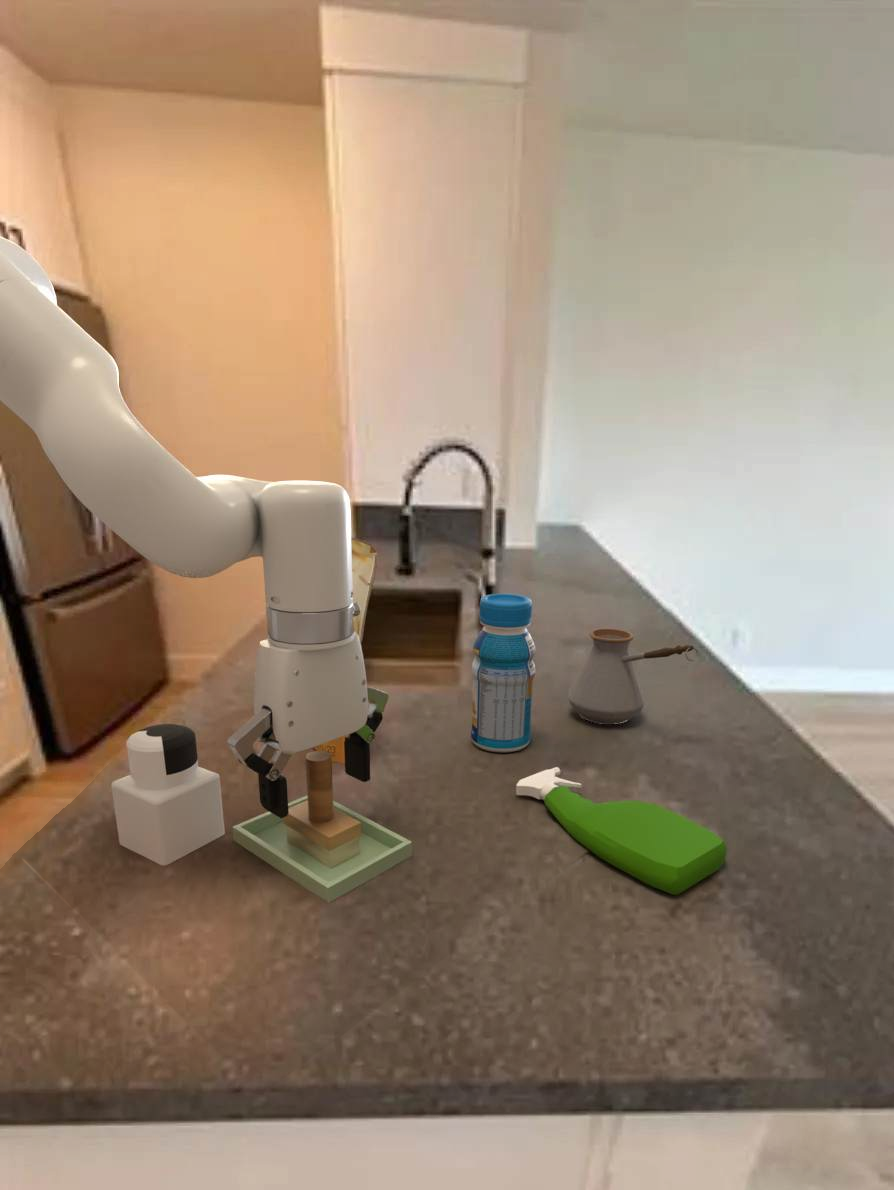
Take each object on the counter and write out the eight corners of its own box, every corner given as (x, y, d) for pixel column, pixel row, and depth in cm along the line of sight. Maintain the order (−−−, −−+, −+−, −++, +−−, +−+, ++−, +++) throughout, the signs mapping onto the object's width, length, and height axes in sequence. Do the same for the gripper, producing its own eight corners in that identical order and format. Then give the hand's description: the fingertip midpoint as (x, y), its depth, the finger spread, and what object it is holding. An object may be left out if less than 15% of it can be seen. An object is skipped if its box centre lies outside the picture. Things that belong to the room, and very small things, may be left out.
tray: (233, 843, 73) (232, 826, 72) (316, 806, 81) (315, 791, 80) (328, 906, 64) (327, 888, 63) (412, 858, 72) (412, 841, 71)
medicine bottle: (181, 816, 78) (169, 712, 74) (226, 836, 74) (216, 728, 70) (118, 846, 72) (102, 734, 68) (164, 869, 68) (150, 753, 65)
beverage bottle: (493, 760, 93) (499, 609, 87) (457, 737, 100) (460, 595, 94) (544, 745, 98) (552, 601, 92) (506, 725, 105) (512, 589, 99)
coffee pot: (551, 710, 111) (557, 615, 106) (607, 697, 117) (615, 607, 113) (651, 763, 94) (663, 653, 90) (711, 745, 100) (725, 641, 96)
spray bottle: (668, 905, 66) (494, 802, 83) (735, 863, 73) (561, 776, 90) (671, 876, 65) (495, 779, 83) (739, 837, 72) (563, 755, 89)
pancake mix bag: (330, 715, 106) (322, 521, 97) (385, 765, 91) (382, 541, 82) (284, 723, 102) (272, 523, 94) (334, 777, 87) (325, 544, 79)
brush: (284, 841, 73) (278, 750, 70) (315, 826, 76) (310, 739, 73) (330, 869, 69) (326, 774, 65) (361, 853, 71) (359, 761, 68)
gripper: (358, 601, 74) (362, 755, 79) (198, 632, 61) (215, 813, 66) (410, 615, 69) (410, 776, 74) (248, 651, 56) (262, 843, 62)
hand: (318, 793), depth 70 cm, fingers open, 9 cm apart
